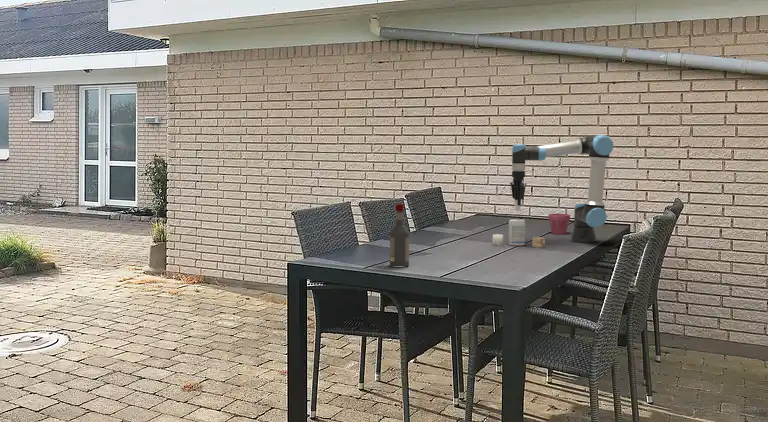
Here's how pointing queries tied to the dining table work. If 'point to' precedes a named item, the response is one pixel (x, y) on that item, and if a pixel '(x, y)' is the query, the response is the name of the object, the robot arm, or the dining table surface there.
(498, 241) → the white cube
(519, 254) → the dining table surface
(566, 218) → the plant pot
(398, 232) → the liquor
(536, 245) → the oak block
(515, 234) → the supplement tub
